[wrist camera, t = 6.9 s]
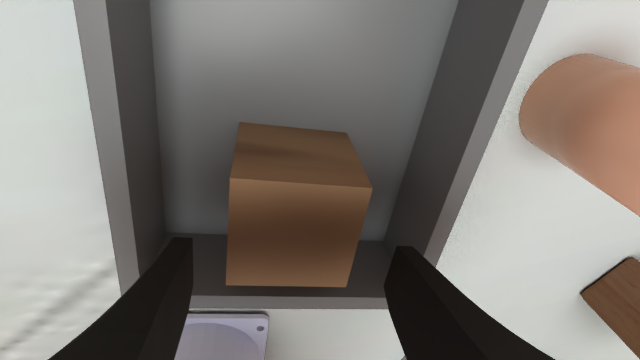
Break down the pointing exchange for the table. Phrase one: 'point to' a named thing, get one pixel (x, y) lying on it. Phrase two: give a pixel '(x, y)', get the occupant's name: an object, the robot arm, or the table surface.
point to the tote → (293, 119)
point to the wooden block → (619, 302)
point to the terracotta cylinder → (589, 122)
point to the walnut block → (294, 207)
